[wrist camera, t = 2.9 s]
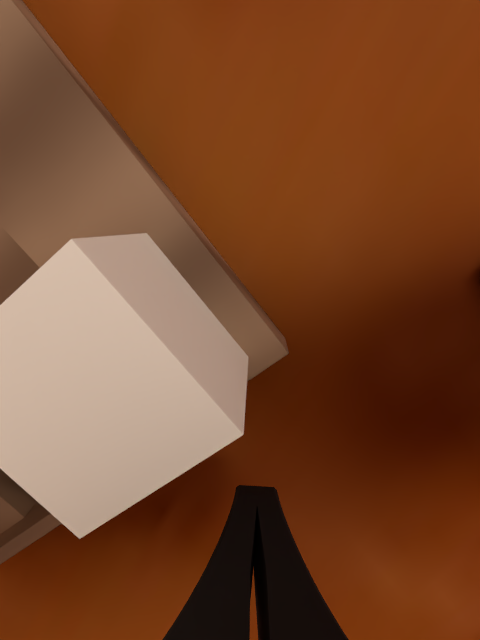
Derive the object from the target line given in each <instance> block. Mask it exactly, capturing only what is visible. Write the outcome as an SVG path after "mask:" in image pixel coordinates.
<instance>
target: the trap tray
mask: <svg viewBox="0 0 480 640" xmlns="http://www.w3.org/2000/svg"><path fill="white" fill-rule="evenodd" d="M141 233H147V234H148V235H149V236H150V238H151V239H152V240H153V241H154V243H155V244H156V245H157V246H158V247H159V249H160V250H161V251H162V252H163V253H164V255H165V256H166V257H167V258H168V260H169V261H170V262H171V263H172V264H173V266H174V267H175V268H176V269H177V271H178V272H179V273H180V274H181V275H182V277H183V278H184V279H185V280H186V282H187V283H188V284H189V285H190V286H191V288H192V289H193V290H194V291H195V292H196V294H197V295H198V296H199V297H200V299H201V300H202V301H203V302H204V303H205V305H206V306H207V307H208V308H209V310H210V311H211V312H212V313H213V314H214V316H215V317H216V318H217V319H218V321H219V322H220V323H221V324H222V325H223V327H224V328H225V329H226V330H227V331H228V333H229V334H230V335H231V336H232V338H233V339H234V340H235V341H236V342H237V344H238V345H239V346H240V347H241V349H242V350H243V351H244V352H245V353H246V355H247V356H248V373H247V381H249V380H250V379H252V378H253V377H255V376H256V375H258V374H259V373H261V372H262V371H264V370H265V369H266V368H268V367H269V366H271V365H272V364H274V363H275V362H277V361H278V360H280V359H281V358H283V357H284V356H286V355H287V354H289V352H288V348H287V344H286V340H285V337H284V336H283V335H282V334H281V332H280V331H279V330H278V328H277V327H276V326H275V325H274V323H273V322H272V321H271V319H270V318H269V317H268V316H267V314H266V313H265V312H264V310H263V309H262V308H261V307H260V305H259V304H258V303H257V301H256V300H255V299H254V298H253V296H252V295H251V294H250V292H249V291H248V290H247V289H246V287H245V286H244V285H243V283H242V282H241V281H240V280H239V278H238V277H237V276H236V275H235V273H234V272H233V271H232V269H231V268H230V267H229V266H228V264H227V263H226V262H225V260H224V259H223V258H222V257H221V255H220V254H219V253H218V251H217V250H216V249H215V248H214V246H213V245H212V244H211V242H210V241H209V240H208V239H207V237H206V236H205V235H204V233H203V232H202V231H201V230H200V228H199V227H198V226H197V224H196V223H195V222H194V221H193V219H192V218H191V217H190V215H189V214H188V213H187V212H186V210H185V209H184V208H183V206H182V205H181V204H180V203H179V201H178V200H177V199H176V197H175V196H174V195H173V194H172V192H171V191H170V190H169V188H168V187H167V186H166V185H165V183H164V182H163V181H162V179H161V178H160V177H159V176H158V174H157V173H156V172H155V170H154V169H153V168H152V167H151V165H150V164H149V163H148V161H147V160H146V159H145V158H144V156H143V155H142V154H141V152H140V151H139V150H138V149H137V147H136V146H135V145H134V144H133V142H132V141H131V140H130V138H129V137H128V136H127V135H126V133H125V132H124V131H123V129H122V128H121V127H120V126H119V124H118V123H117V122H116V120H115V119H114V118H113V117H112V115H111V114H110V113H109V111H108V110H107V109H106V108H105V106H104V105H103V104H102V102H101V101H100V100H99V99H98V97H97V96H96V95H95V93H94V92H93V91H92V90H91V88H90V87H89V86H88V84H87V83H86V82H85V81H84V79H83V78H82V77H81V75H80V74H79V73H78V72H77V70H76V69H75V68H74V66H73V65H72V64H71V63H70V61H69V60H68V59H67V57H66V56H65V55H64V54H63V52H62V51H61V50H60V48H59V47H58V46H57V45H56V43H55V42H54V41H53V39H52V38H51V37H50V36H49V34H48V33H47V32H46V30H45V29H44V28H43V27H42V25H41V24H40V23H39V21H38V20H37V19H36V18H35V16H34V15H33V14H32V13H31V11H30V10H29V9H28V7H27V6H26V5H25V4H24V2H23V1H22V0H0V305H1V304H2V303H3V302H4V301H5V300H6V299H7V298H8V297H10V296H11V295H12V294H13V293H14V292H15V291H16V290H17V289H18V288H19V287H20V286H21V285H22V284H23V283H25V282H26V281H27V280H28V279H29V278H30V277H31V276H32V275H33V274H34V273H35V272H36V271H37V270H38V269H40V268H41V267H42V266H43V265H44V264H45V263H46V262H47V261H48V260H49V259H50V258H51V257H52V256H53V255H54V254H56V253H57V252H58V251H59V250H60V249H61V248H62V247H63V246H64V245H65V244H66V243H67V242H68V241H69V240H71V239H75V238H88V237H101V236H115V235H128V234H141ZM60 524H62V523H61V522H60V521H59V520H58V519H56V518H55V517H54V516H53V515H52V514H51V513H50V512H49V511H47V510H46V509H45V508H44V507H43V506H42V505H41V504H40V503H38V502H37V501H36V500H35V499H34V498H33V497H32V496H31V495H29V494H28V493H27V492H26V491H25V490H24V489H23V488H22V487H20V486H19V485H18V484H17V483H16V482H15V481H14V480H13V479H11V478H10V477H9V476H8V475H7V474H6V473H5V472H4V471H2V470H1V469H0V564H1V563H3V562H5V561H6V560H8V559H9V558H11V557H12V556H14V555H15V554H17V553H18V552H20V551H21V550H23V549H24V548H26V547H27V546H29V545H30V544H32V543H33V542H35V541H36V540H38V539H39V538H41V537H42V536H44V535H45V534H47V533H48V532H50V531H51V530H53V529H54V528H56V527H57V526H59V525H60Z"/></svg>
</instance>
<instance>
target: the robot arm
mask: <svg viewBox="0 0 480 640" xmlns="http://www.w3.org/2000/svg"><path fill="white" fill-rule="evenodd" d="M253 566H254V581H255V596H256V611H257V625H258V640H348V638H347V637H346V635H345V634H344V632H343V631H342V629H341V627H340V626H339V624H338V623H337V621H336V619H335V618H334V616H333V614H332V613H331V611H330V609H329V608H328V606H327V604H326V602H325V601H324V599H323V597H322V595H321V594H320V592H319V590H318V588H317V586H316V584H315V583H314V581H313V579H312V577H311V575H310V573H309V571H308V569H307V567H306V565H305V563H304V561H303V559H302V557H301V554H300V552H299V550H298V548H297V546H296V543H295V541H294V539H293V536H292V534H291V532H290V529H289V527H288V524H287V522H286V519H285V516H284V513H283V511H282V508H281V504H280V501H279V498H278V494H277V490H276V489H275V488H274V487H260V486H244V485H239V486H238V487H236V492H235V497H234V501H233V504H232V507H231V511H230V513H229V516H228V519H227V522H226V524H225V527H224V529H223V532H222V534H221V537H220V539H219V541H218V544H217V546H216V548H215V550H214V552H213V554H212V556H211V558H210V560H209V563H208V565H207V567H206V569H205V570H204V572H203V574H202V576H201V578H200V580H199V582H198V584H197V585H196V587H195V589H194V591H193V592H192V594H191V596H190V598H189V599H188V601H187V603H186V604H185V606H184V607H183V609H182V611H181V612H180V614H179V616H178V617H177V619H176V620H175V622H174V623H173V625H172V627H171V628H170V630H169V631H168V633H167V634H166V636H165V637H164V638H163V640H249V635H250V598H251V587H252V576H253Z"/></svg>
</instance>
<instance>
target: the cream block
mask: <svg viewBox="0 0 480 640" xmlns="http://www.w3.org/2000/svg"><path fill="white" fill-rule="evenodd" d="M247 373H248V356H247V355H246V353H245V352H244V351H243V350H242V349H241V347H240V346H239V345H238V344H237V342H236V341H235V340H234V339H233V338H232V336H231V335H230V334H229V333H228V331H227V330H226V329H225V328H224V327H223V325H222V324H221V323H220V322H219V321H218V319H217V318H216V317H215V316H214V314H213V313H212V312H211V311H210V310H209V308H208V307H207V306H206V305H205V303H204V302H203V301H202V300H201V299H200V297H199V296H198V295H197V294H196V292H195V291H194V290H193V289H192V288H191V286H190V285H189V284H188V283H187V282H186V280H185V279H184V278H183V277H182V275H181V274H180V273H179V272H178V271H177V269H176V268H175V267H174V266H173V264H172V263H171V262H170V261H169V260H168V258H167V257H166V256H165V255H164V253H163V252H162V251H161V250H160V249H159V247H158V246H157V245H156V244H155V243H154V241H153V240H152V239H151V238H150V236H149V235H148V234H147V233H141V234H128V235H115V236H101V237H88V238H75V239H71V240H69V241H68V242H67V243H66V244H65V245H64V246H63V247H62V248H61V249H60V250H59V251H58V252H57V253H56V254H54V255H53V256H52V257H51V258H50V259H49V260H48V261H47V262H46V263H45V264H44V265H43V266H42V267H41V268H40V269H38V270H37V271H36V272H35V273H34V274H33V275H32V276H31V277H30V278H29V279H28V280H27V281H26V282H25V283H23V284H22V285H21V286H20V287H19V288H18V289H17V290H16V291H15V292H14V293H13V294H12V295H11V296H10V297H8V298H7V299H6V300H5V301H4V302H3V303H2V304H1V305H0V469H1V470H2V471H4V472H5V473H6V474H7V475H8V476H9V477H10V478H11V479H13V480H14V481H15V482H16V483H17V484H18V485H19V486H20V487H22V488H23V489H24V490H25V491H26V492H27V493H28V494H29V495H31V496H32V497H33V498H34V499H35V500H36V501H37V502H38V503H40V504H41V505H42V506H43V507H44V508H45V509H46V510H47V511H49V512H50V513H51V514H52V515H53V516H54V517H55V518H56V519H58V520H59V521H60V522H61V523H62V524H63V525H64V526H65V527H67V528H68V529H69V530H70V531H71V532H72V533H73V534H74V535H76V536H77V537H78V538H79V539H80V538H82V537H84V536H85V535H87V534H88V533H90V532H91V531H93V530H95V529H96V528H98V527H99V526H101V525H102V524H104V523H106V522H107V521H109V520H110V519H112V518H113V517H115V516H117V515H118V514H120V513H121V512H123V511H124V510H126V509H128V508H129V507H131V506H132V505H134V504H135V503H137V502H139V501H140V500H142V499H143V498H145V497H146V496H148V495H150V494H151V493H153V492H154V491H156V490H157V489H159V488H161V487H162V486H164V485H165V484H167V483H168V482H170V481H172V480H173V479H175V478H176V477H178V476H179V475H181V474H183V473H184V472H186V471H187V470H189V469H190V468H192V467H194V466H195V465H197V464H198V463H200V462H201V461H203V460H205V459H206V458H208V457H209V456H211V455H212V454H214V453H216V452H217V451H219V450H220V449H222V448H223V447H225V446H227V445H228V444H230V443H231V442H233V441H234V440H236V439H238V438H239V437H241V436H242V435H244V421H245V405H246V389H247Z"/></svg>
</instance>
